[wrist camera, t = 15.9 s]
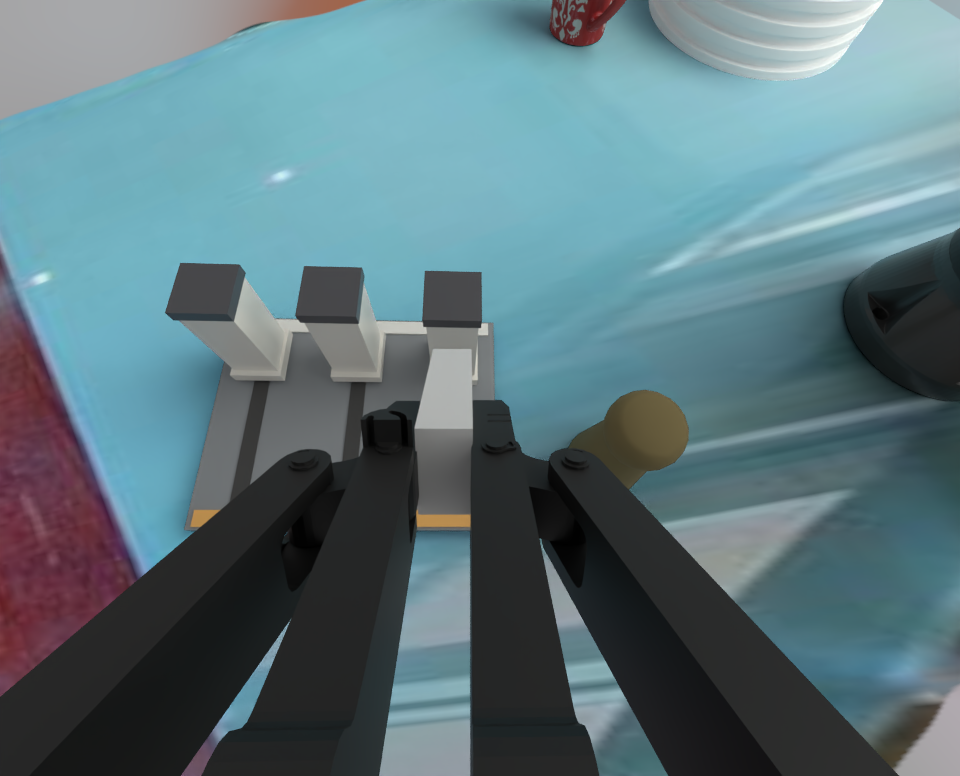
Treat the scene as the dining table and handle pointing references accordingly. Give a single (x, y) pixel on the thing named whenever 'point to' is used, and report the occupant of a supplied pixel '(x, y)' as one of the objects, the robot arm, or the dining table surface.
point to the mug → (581, 19)
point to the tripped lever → (453, 312)
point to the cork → (637, 435)
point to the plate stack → (764, 33)
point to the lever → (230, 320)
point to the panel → (315, 414)
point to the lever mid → (342, 322)
